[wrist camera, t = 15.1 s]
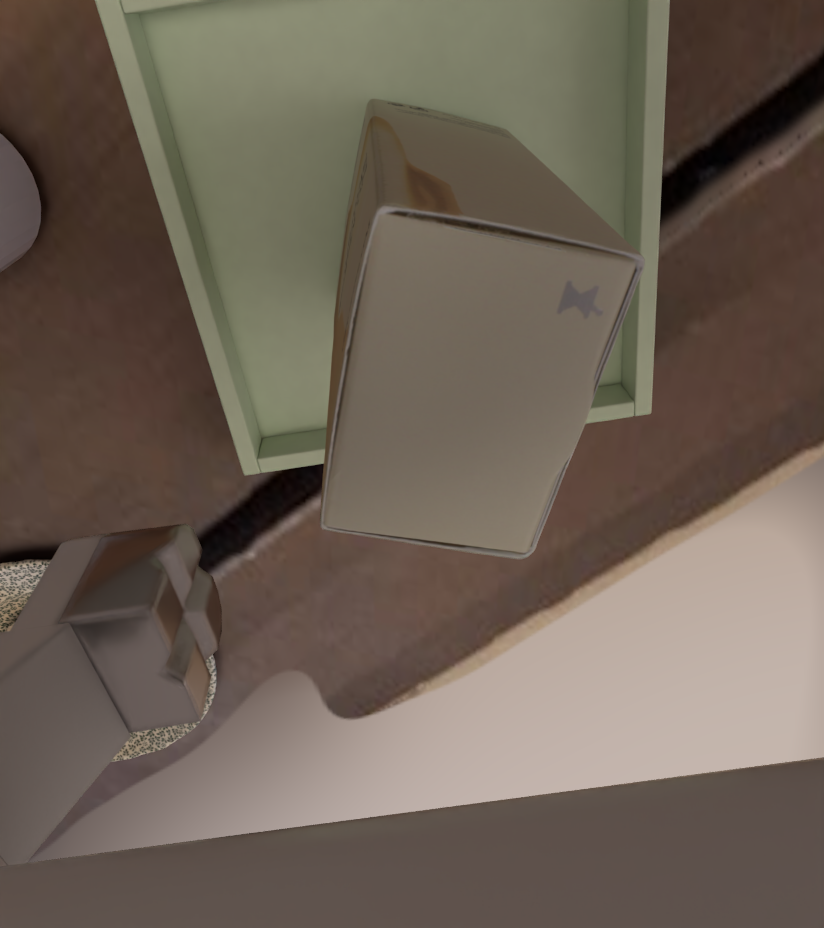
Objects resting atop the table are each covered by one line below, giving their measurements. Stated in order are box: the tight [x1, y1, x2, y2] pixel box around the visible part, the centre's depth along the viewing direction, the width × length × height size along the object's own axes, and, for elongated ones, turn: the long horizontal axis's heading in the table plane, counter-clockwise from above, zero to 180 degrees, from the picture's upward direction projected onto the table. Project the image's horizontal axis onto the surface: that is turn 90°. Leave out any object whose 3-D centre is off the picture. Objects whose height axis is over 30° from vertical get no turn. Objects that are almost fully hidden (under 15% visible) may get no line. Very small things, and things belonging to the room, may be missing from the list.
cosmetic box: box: [320, 99, 645, 559], centre depth 17 cm, size 6×4×12 cm
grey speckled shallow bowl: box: [0, 560, 217, 761], centre depth 30 cm, size 12×12×5 cm
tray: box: [95, 0, 670, 475], centre depth 22 cm, size 14×14×2 cm
